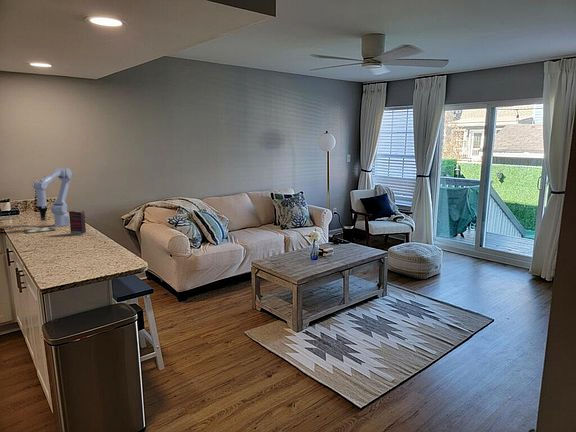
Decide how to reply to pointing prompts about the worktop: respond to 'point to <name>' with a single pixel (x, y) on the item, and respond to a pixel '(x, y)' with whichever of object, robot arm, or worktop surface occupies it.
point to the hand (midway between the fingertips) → (43, 216)
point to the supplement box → (77, 222)
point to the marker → (42, 218)
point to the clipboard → (39, 230)
